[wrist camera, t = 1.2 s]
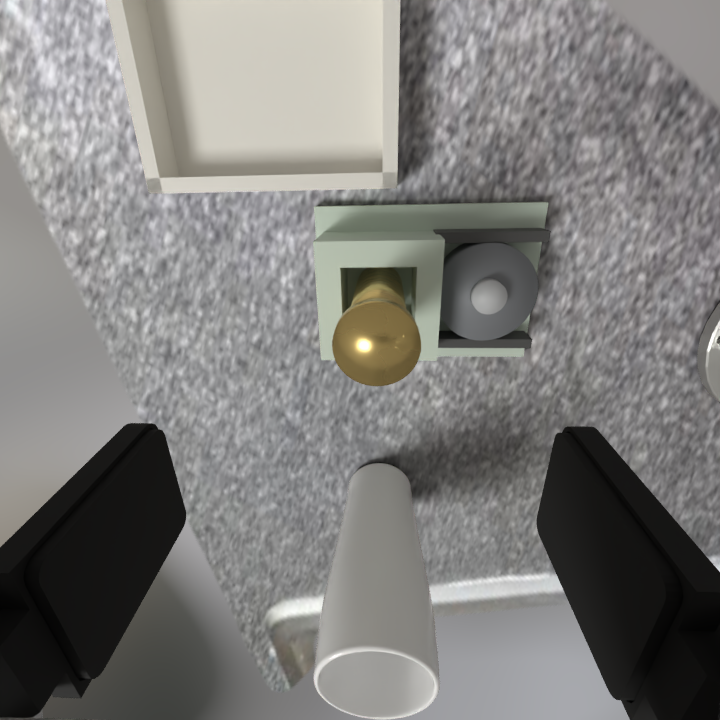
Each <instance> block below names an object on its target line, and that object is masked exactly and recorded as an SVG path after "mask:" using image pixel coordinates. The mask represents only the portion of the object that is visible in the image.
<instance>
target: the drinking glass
mask: <svg viewBox="0 0 720 720" xmlns="http://www.w3.org/2000/svg"><path fill="white" fill-rule="evenodd" d="M314 684H315V687H316V689H317V691H318V693H319V694H320V695H321V697H322V698H323V699H324V700H325V701H326V702H327V703H329V704H330V705H332V706H333V707H335V708H337V709H339V710H341V711H343V712H345V713H348V714H351V715H354V716H358V717H363V718H369V719H396V718H402V717H407V716H410V715H413V714H416V713H418V712H420V711H422V710H424V709H425V708H427V707H428V706H429V705H430V704H431V703H432V702H433V701H434V700H435V699H436V697H437V695H438V692H439V688H440V680H439V665H438V651H437V640H436V629H435V621H434V613H433V606H432V600H431V594H430V589H429V584H428V579H427V574H426V569H425V564H424V559H423V554H422V549H421V544H420V539H419V534H418V529H417V523H416V518H415V513H414V507H413V502H412V491H411V485H410V482H409V480H408V478H407V476H406V475H405V474H404V473H403V472H402V471H401V470H400V469H398V468H396V467H394V466H392V465H389V464H384V463H374V464H369V465H366V466H364V467H362V468H360V469H359V470H357V471H356V472H355V473H354V475H353V476H352V478H351V479H350V482H349V486H348V493H347V500H346V505H345V509H344V514H343V518H342V522H341V527H340V531H339V535H338V540H337V544H336V548H335V552H334V556H333V561H332V565H331V569H330V573H329V577H328V582H327V586H326V591H325V595H324V600H323V606H322V611H321V618H320V624H319V631H318V639H317V648H316V658H315V669H314Z"/></svg>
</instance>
